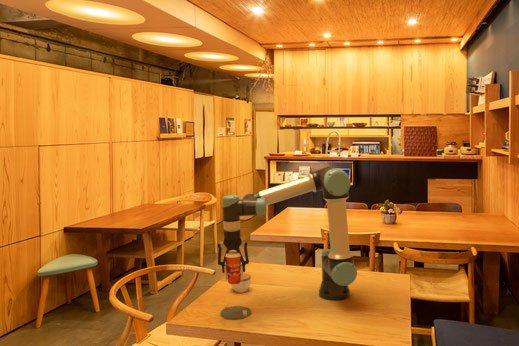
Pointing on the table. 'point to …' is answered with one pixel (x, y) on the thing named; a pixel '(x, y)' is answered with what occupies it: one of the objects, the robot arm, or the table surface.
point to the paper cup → (233, 267)
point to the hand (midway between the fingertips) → (234, 279)
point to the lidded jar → (242, 284)
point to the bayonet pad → (235, 312)
